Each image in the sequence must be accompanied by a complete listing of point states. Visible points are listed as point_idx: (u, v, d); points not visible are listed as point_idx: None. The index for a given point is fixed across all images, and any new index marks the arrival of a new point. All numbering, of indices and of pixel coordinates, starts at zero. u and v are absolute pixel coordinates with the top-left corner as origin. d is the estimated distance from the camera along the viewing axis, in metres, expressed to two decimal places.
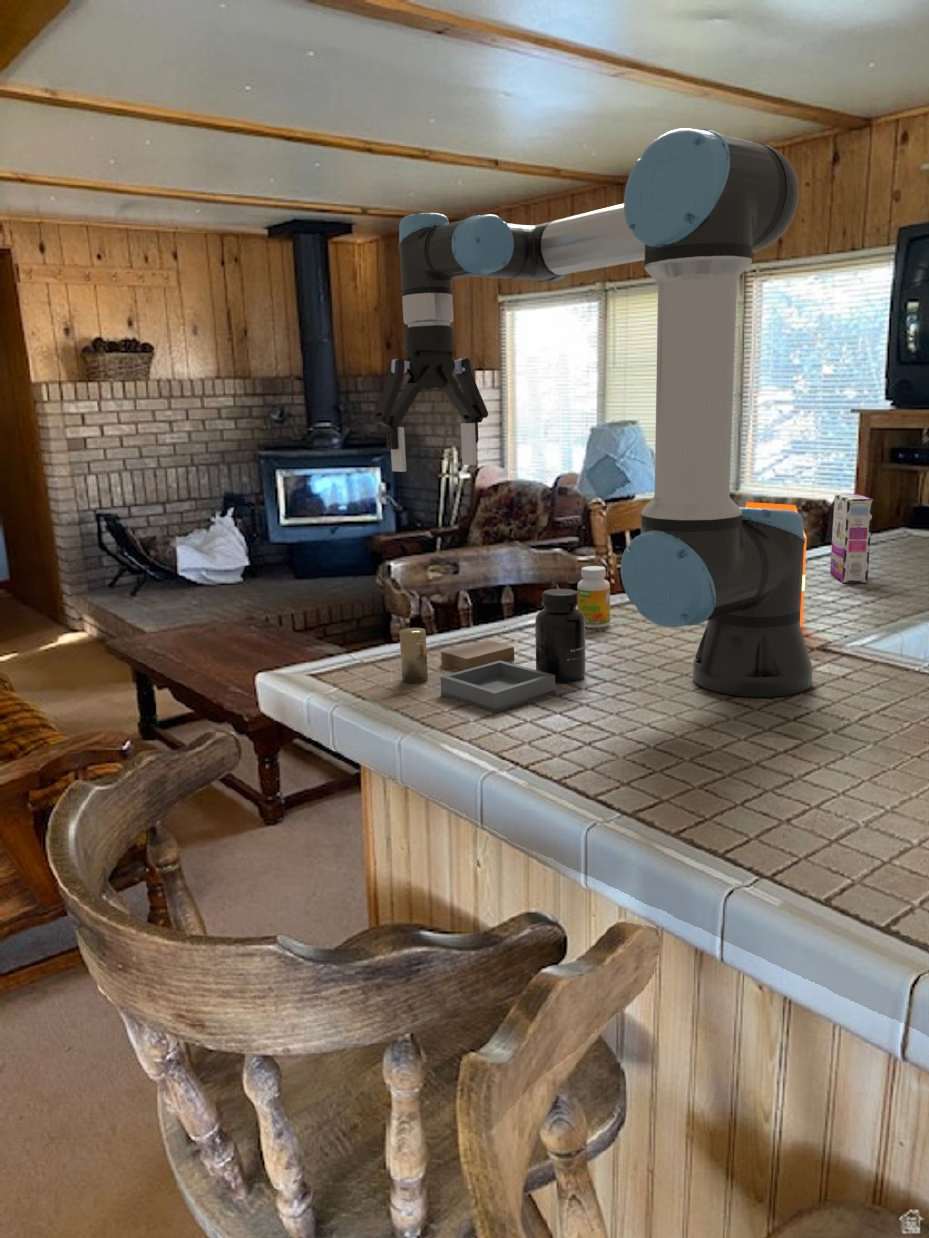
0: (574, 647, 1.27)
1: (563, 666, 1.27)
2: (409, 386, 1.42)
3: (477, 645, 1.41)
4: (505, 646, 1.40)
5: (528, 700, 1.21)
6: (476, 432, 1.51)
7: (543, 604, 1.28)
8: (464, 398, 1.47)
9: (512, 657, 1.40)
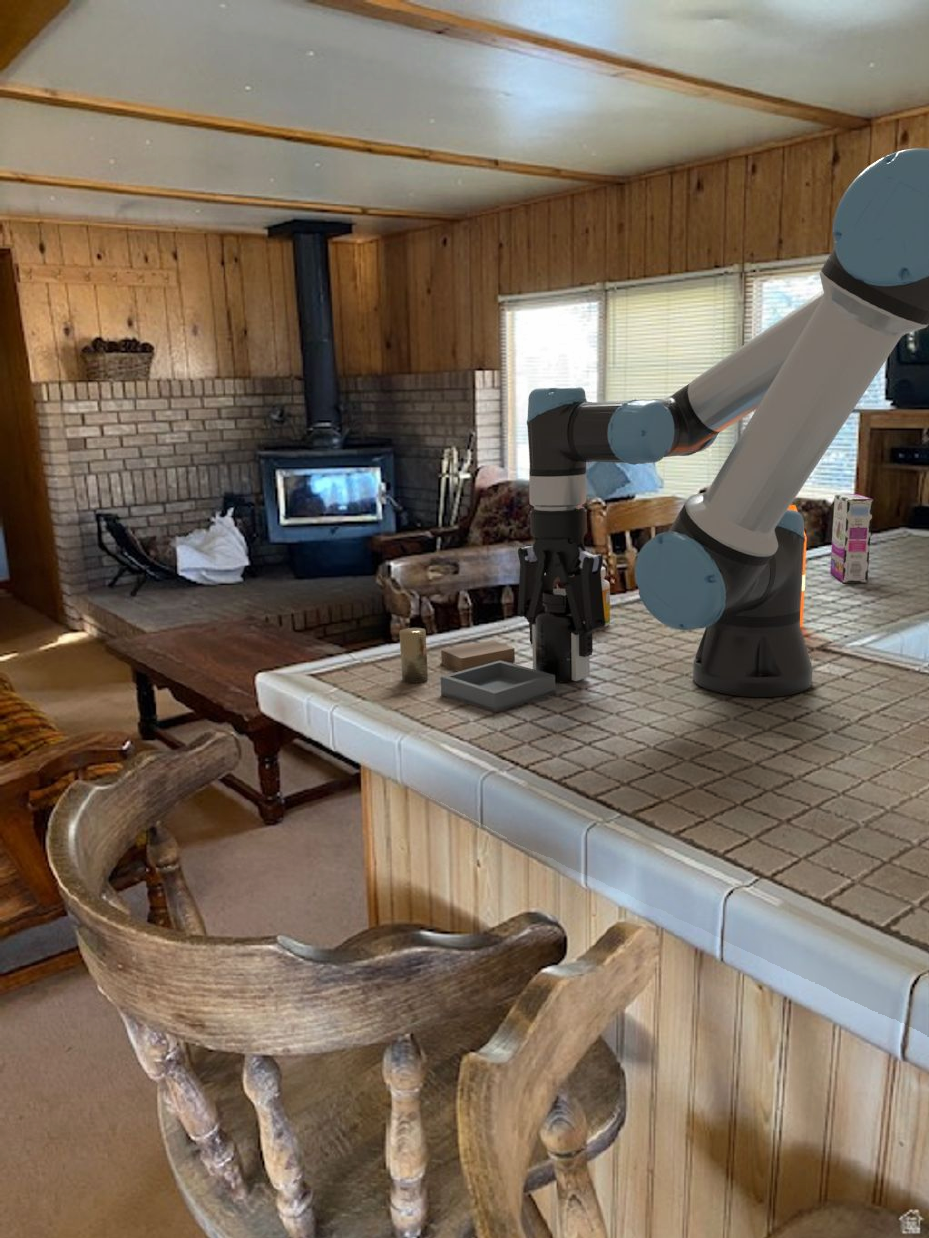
0: None
1: (563, 666, 1.27)
2: None
3: (479, 645, 1.41)
4: (506, 647, 1.39)
5: (528, 700, 1.21)
6: (583, 644, 1.26)
7: (543, 604, 1.28)
8: (572, 600, 1.25)
9: (512, 659, 1.39)
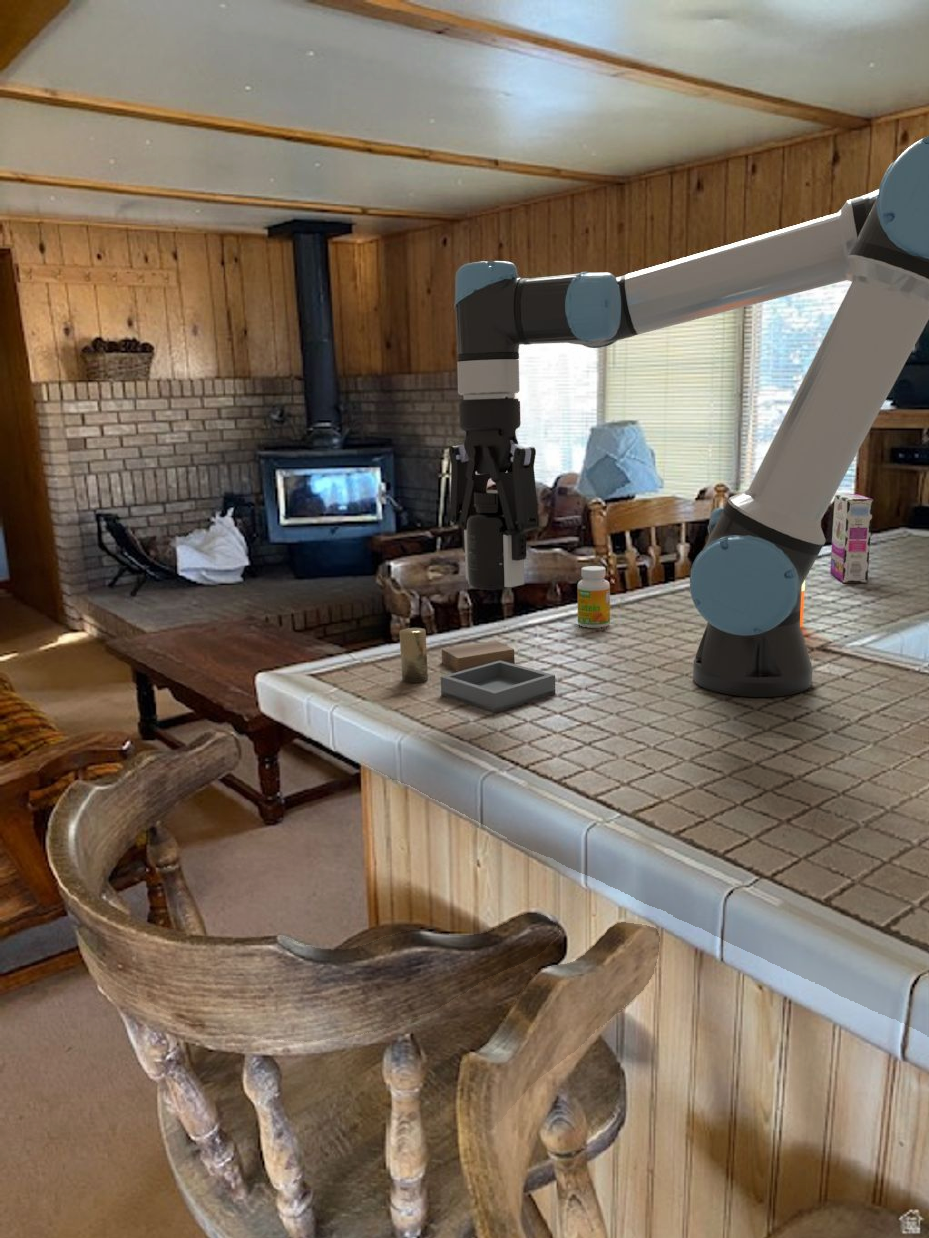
0: None
1: (495, 571, 1.17)
2: None
3: (480, 645, 1.41)
4: (506, 648, 1.39)
5: (528, 700, 1.21)
6: (516, 547, 1.16)
7: (474, 504, 1.18)
8: (504, 498, 1.15)
9: (512, 659, 1.38)
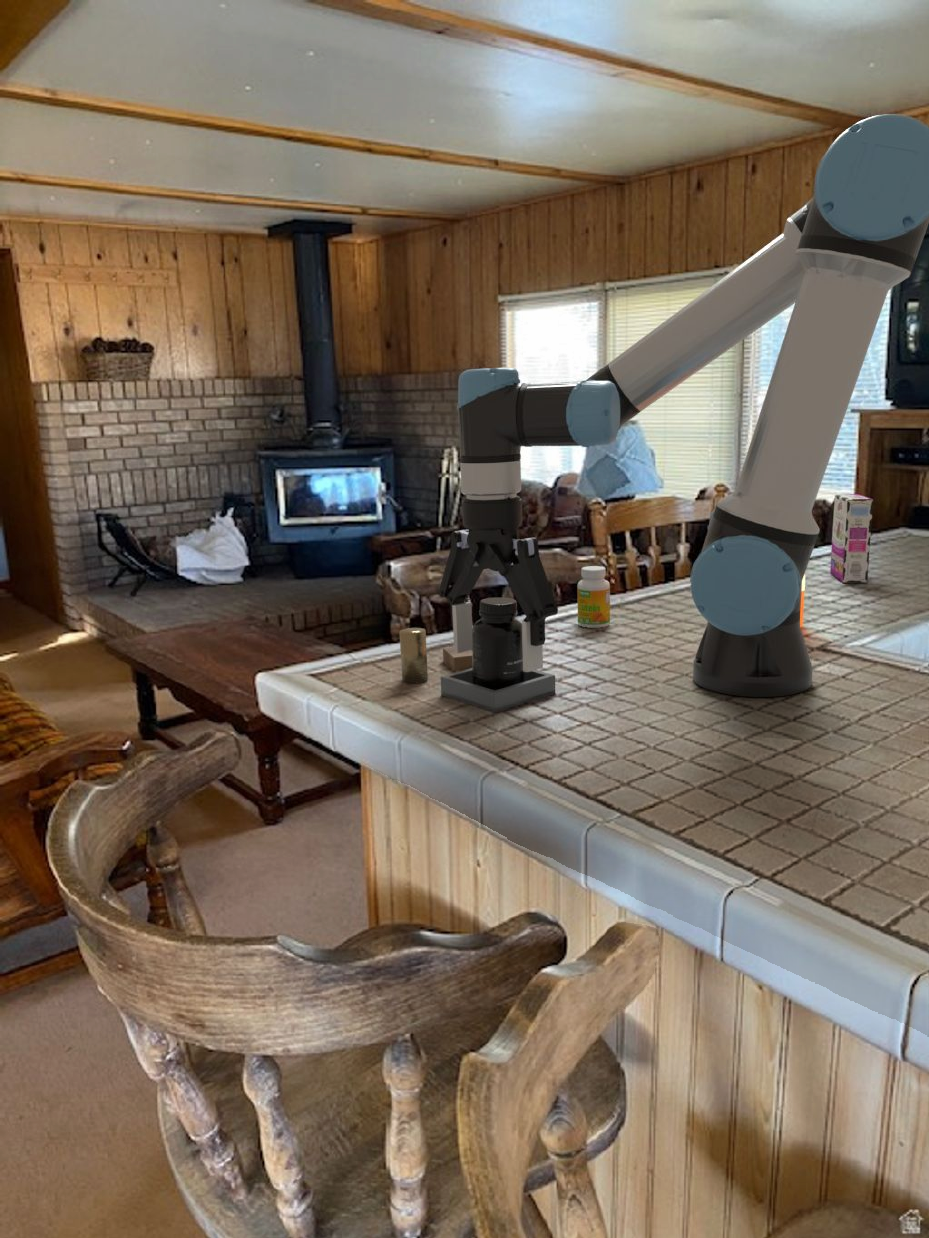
0: (511, 659, 1.20)
1: (500, 680, 1.20)
2: None
3: None
4: None
5: (528, 700, 1.21)
6: (535, 633, 1.16)
7: (480, 614, 1.21)
8: (516, 588, 1.16)
9: None
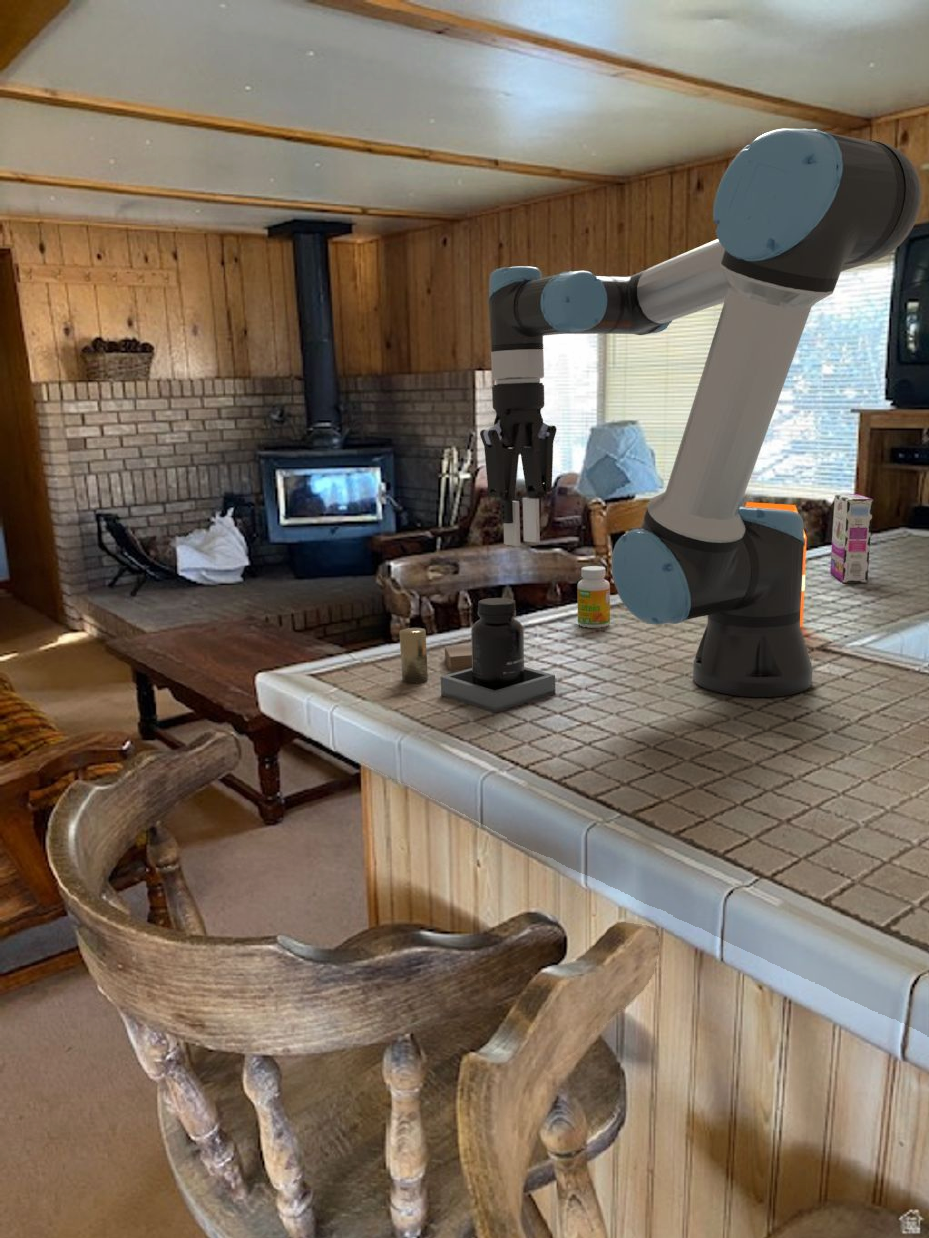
0: (511, 659, 1.20)
1: (500, 680, 1.20)
2: (507, 452, 1.37)
3: None
4: None
5: (528, 700, 1.21)
6: (539, 507, 1.42)
7: (479, 614, 1.21)
8: (538, 467, 1.40)
9: None
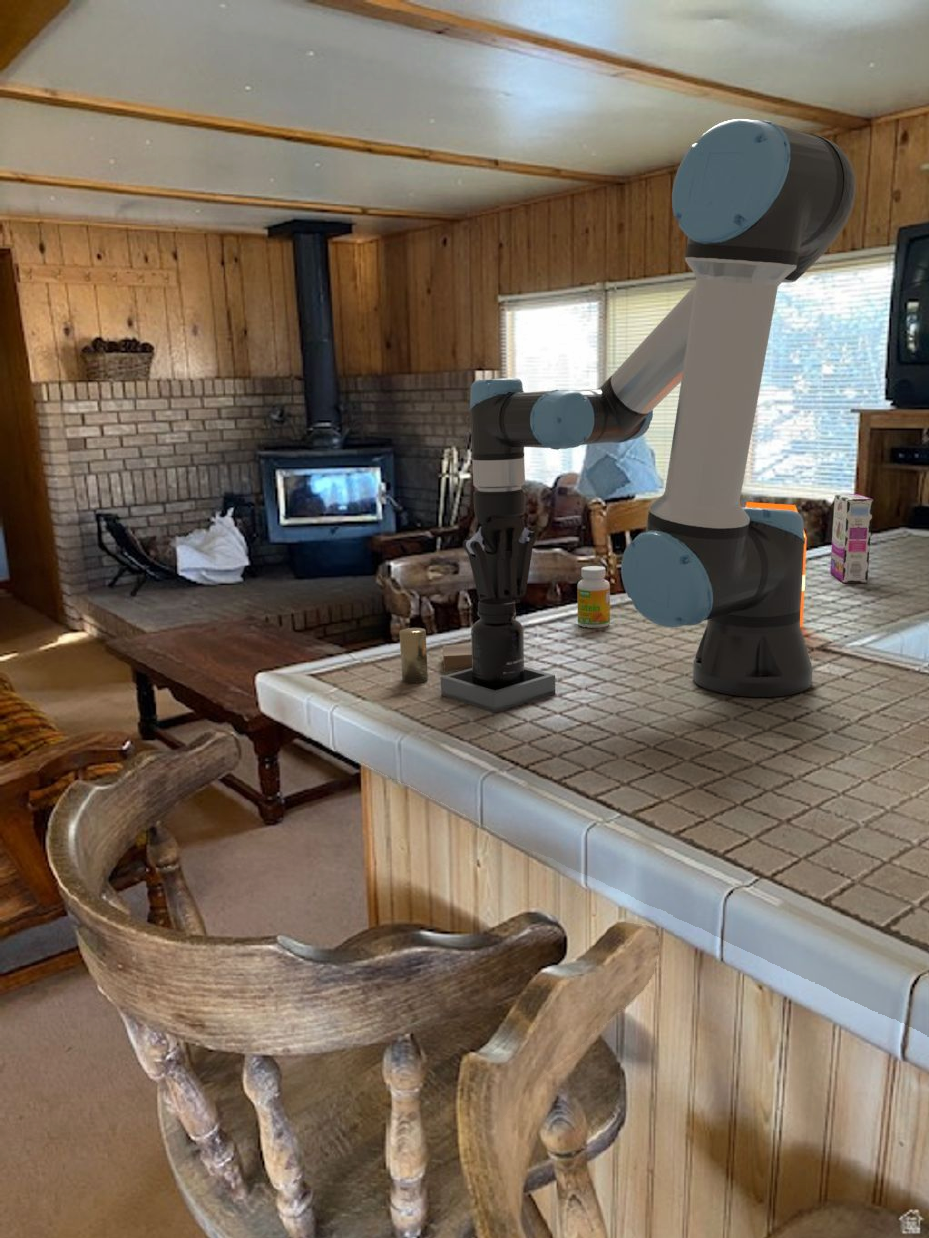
0: (511, 659, 1.20)
1: (500, 680, 1.20)
2: (491, 557, 1.38)
3: None
4: None
5: (528, 700, 1.21)
6: None
7: (478, 614, 1.21)
8: (515, 572, 1.40)
9: None
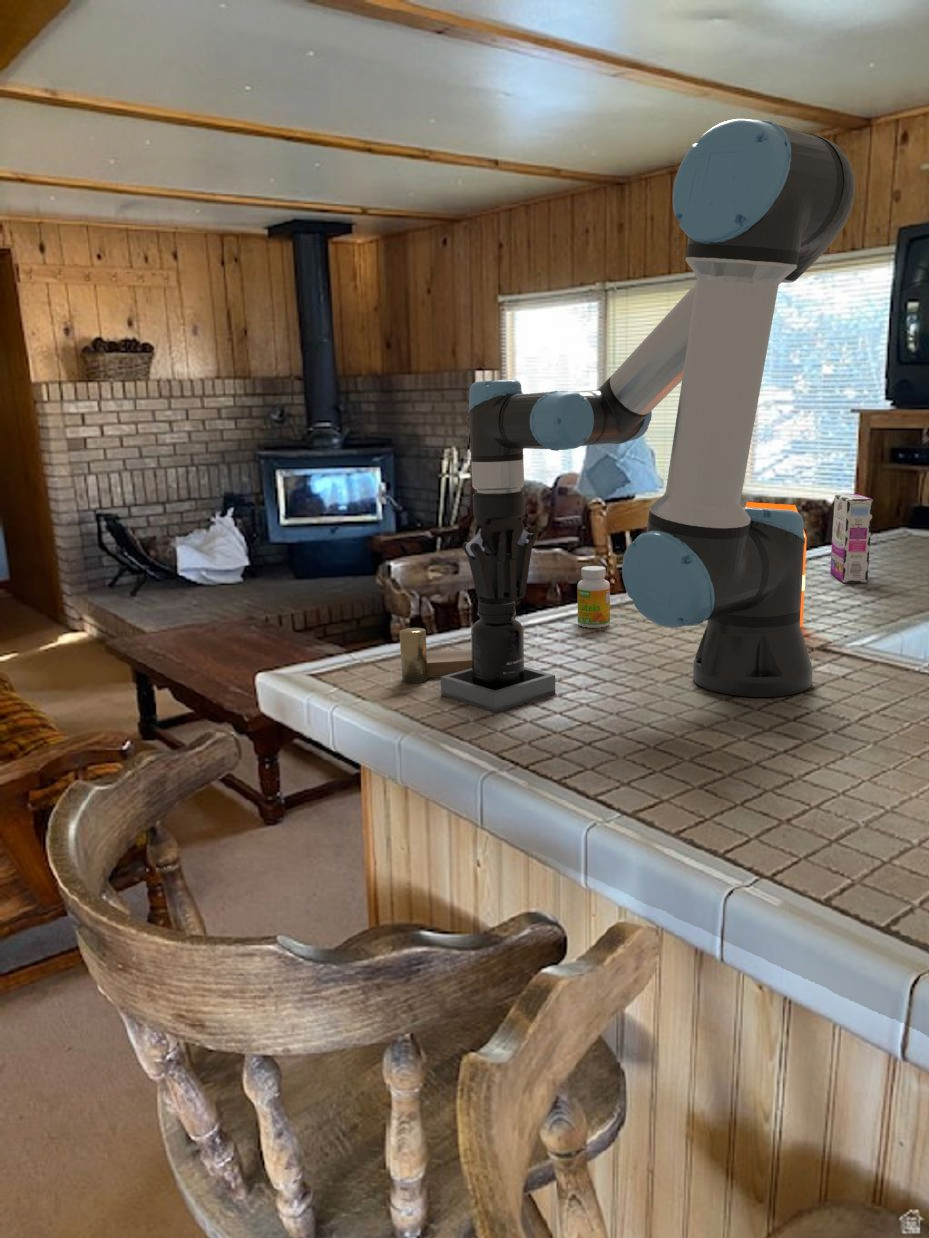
0: (511, 659, 1.20)
1: (500, 680, 1.20)
2: (491, 560, 1.38)
3: (464, 652, 1.38)
4: None
5: (528, 700, 1.21)
6: None
7: (478, 614, 1.21)
8: (514, 574, 1.40)
9: None
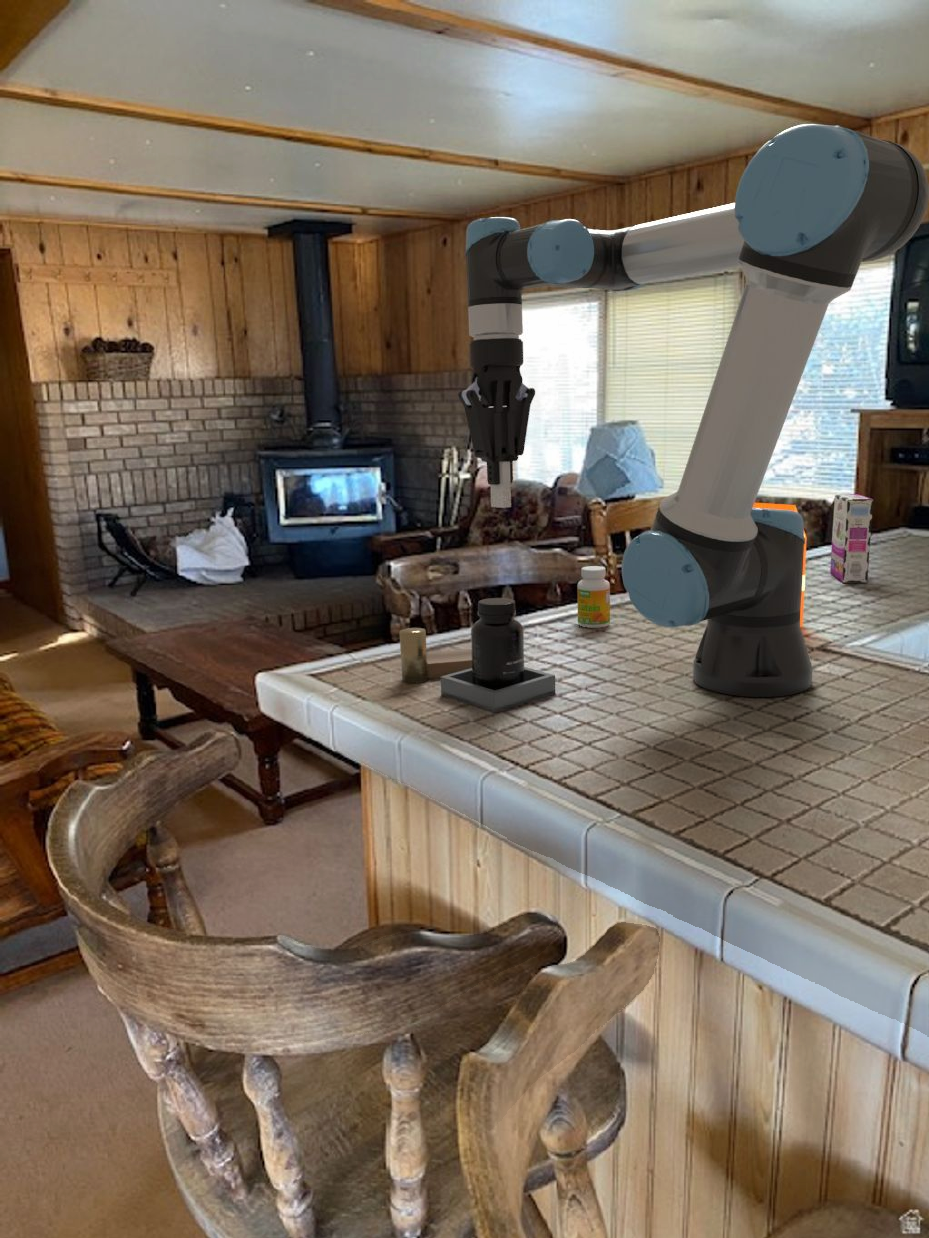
0: (511, 659, 1.20)
1: (499, 680, 1.20)
2: (488, 411, 1.34)
3: (463, 652, 1.38)
4: None
5: (528, 700, 1.21)
6: (511, 471, 1.37)
7: (478, 614, 1.21)
8: (512, 428, 1.36)
9: None
